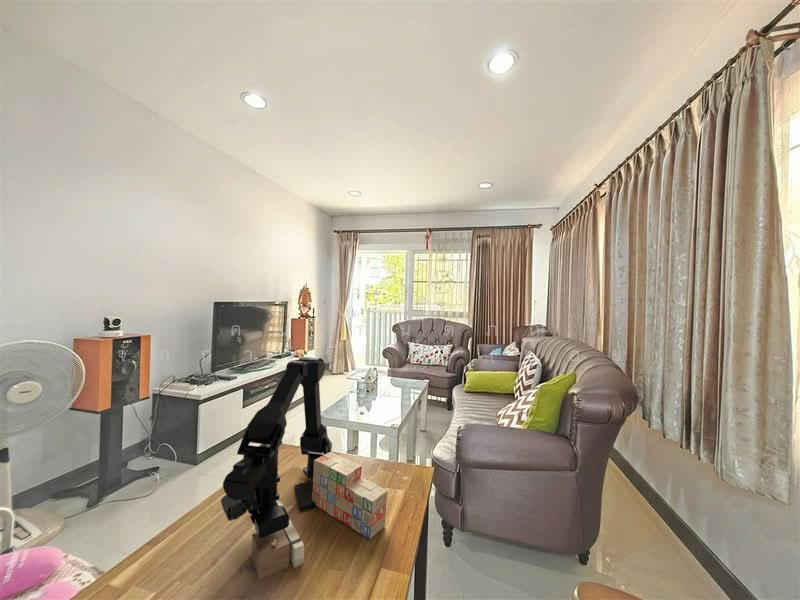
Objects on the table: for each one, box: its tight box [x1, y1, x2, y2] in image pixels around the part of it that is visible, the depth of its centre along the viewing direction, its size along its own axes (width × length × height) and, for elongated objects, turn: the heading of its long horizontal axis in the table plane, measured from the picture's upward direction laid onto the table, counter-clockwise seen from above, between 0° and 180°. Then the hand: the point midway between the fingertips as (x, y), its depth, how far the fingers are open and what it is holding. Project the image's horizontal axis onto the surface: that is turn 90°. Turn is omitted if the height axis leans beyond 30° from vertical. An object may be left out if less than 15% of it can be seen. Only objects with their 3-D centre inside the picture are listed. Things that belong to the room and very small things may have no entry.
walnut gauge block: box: [250, 529, 290, 581], centre depth 69 cm, size 7×6×6 cm
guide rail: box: [276, 499, 305, 568], centre depth 77 cm, size 24×2×4 cm, turn 37°
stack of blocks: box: [312, 451, 388, 540], centre depth 84 cm, size 21×6×12 cm, turn 55°
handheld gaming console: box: [294, 479, 317, 512], centre depth 91 cm, size 12×7×10 cm
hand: (262, 538), depth 73 cm, fingers closed
